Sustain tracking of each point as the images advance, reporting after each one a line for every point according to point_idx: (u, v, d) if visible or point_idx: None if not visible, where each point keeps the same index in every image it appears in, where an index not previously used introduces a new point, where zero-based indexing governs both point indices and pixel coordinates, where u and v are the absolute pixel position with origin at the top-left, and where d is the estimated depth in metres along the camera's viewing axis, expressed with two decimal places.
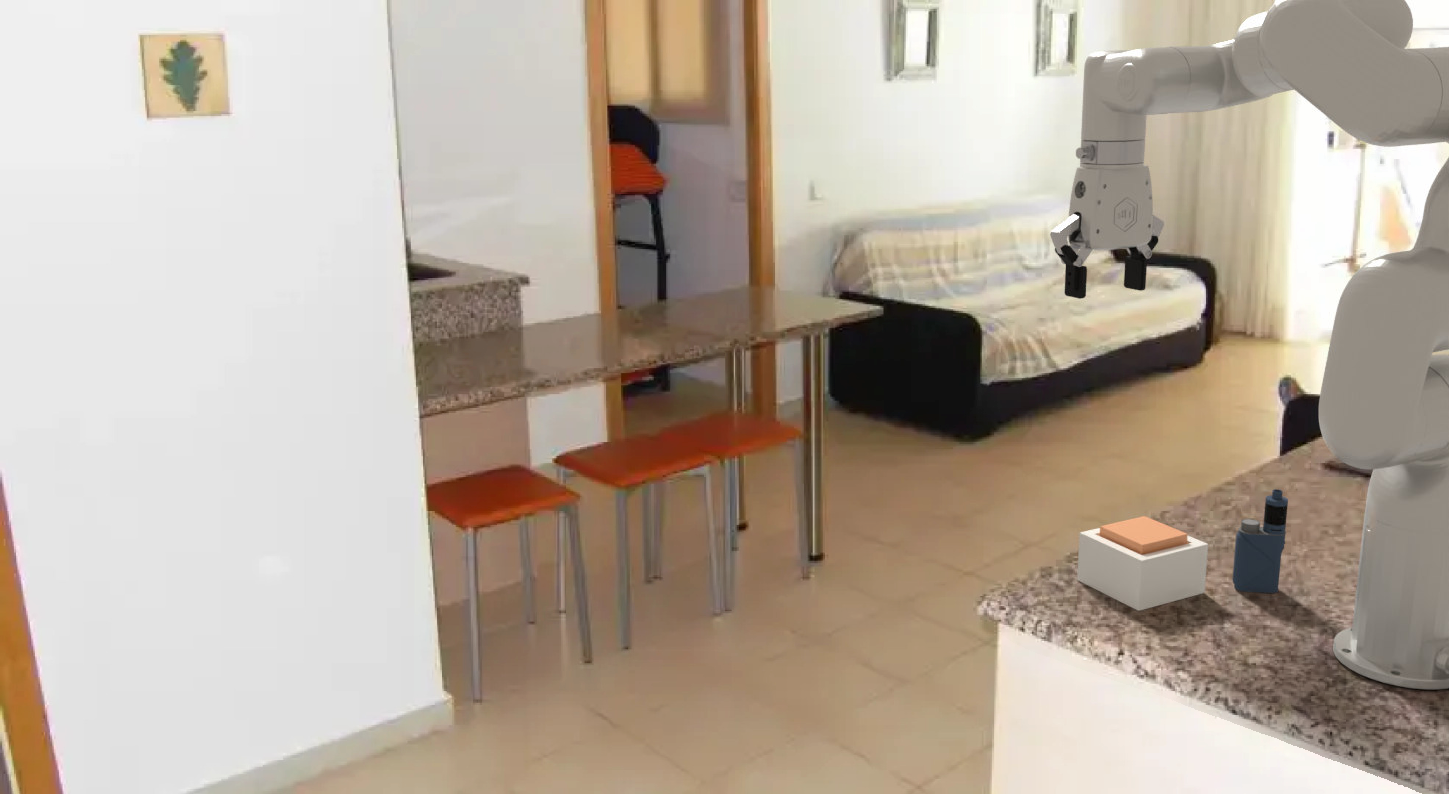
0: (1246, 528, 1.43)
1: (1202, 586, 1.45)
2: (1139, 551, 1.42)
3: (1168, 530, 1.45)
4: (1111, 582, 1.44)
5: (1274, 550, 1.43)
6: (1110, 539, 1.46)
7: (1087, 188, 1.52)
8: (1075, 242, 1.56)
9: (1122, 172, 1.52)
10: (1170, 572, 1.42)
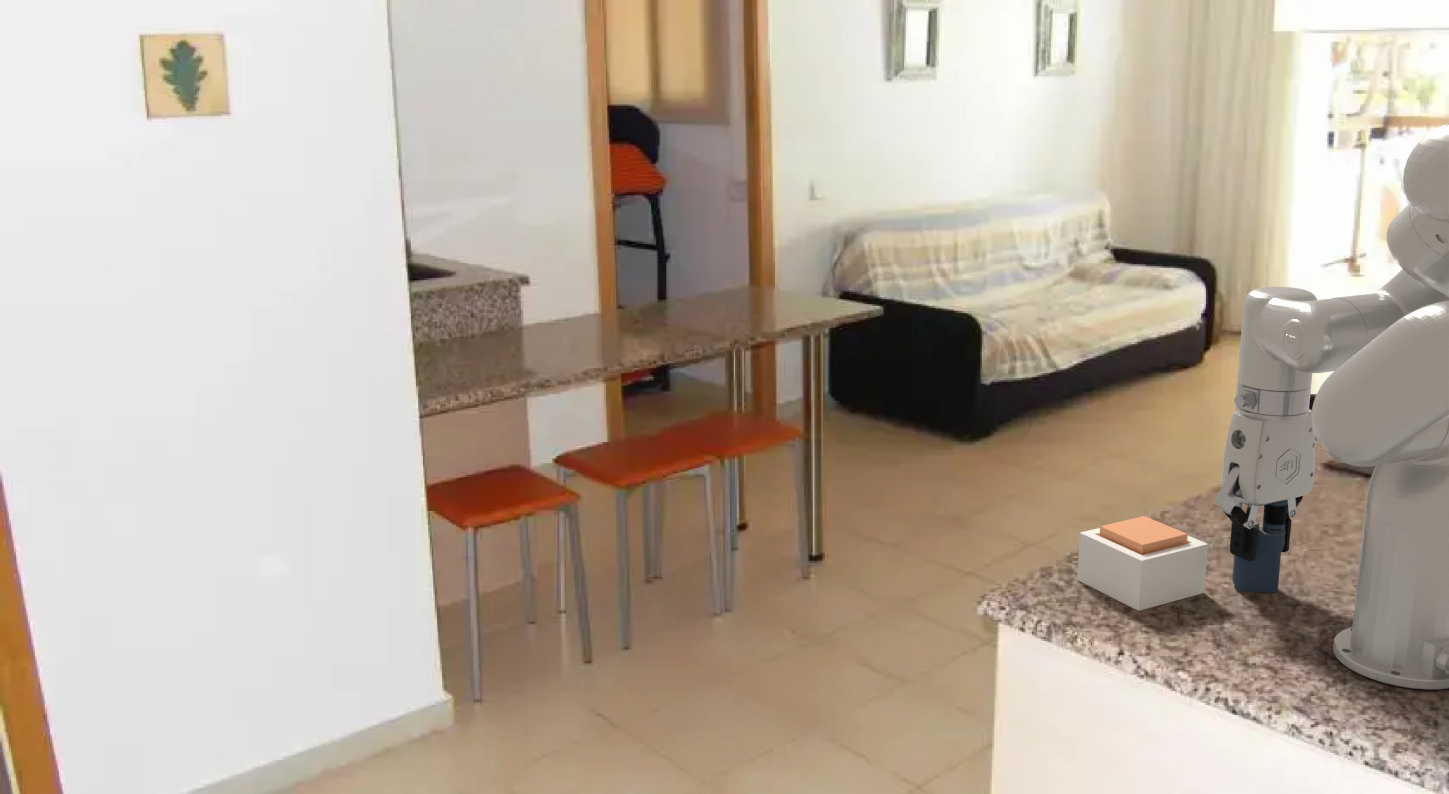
0: None
1: (1202, 586, 1.45)
2: (1139, 551, 1.42)
3: (1168, 530, 1.45)
4: (1111, 582, 1.44)
5: (1274, 550, 1.43)
6: (1110, 539, 1.46)
7: (1247, 440, 1.38)
8: (1237, 499, 1.42)
9: (1286, 422, 1.38)
10: (1170, 572, 1.42)
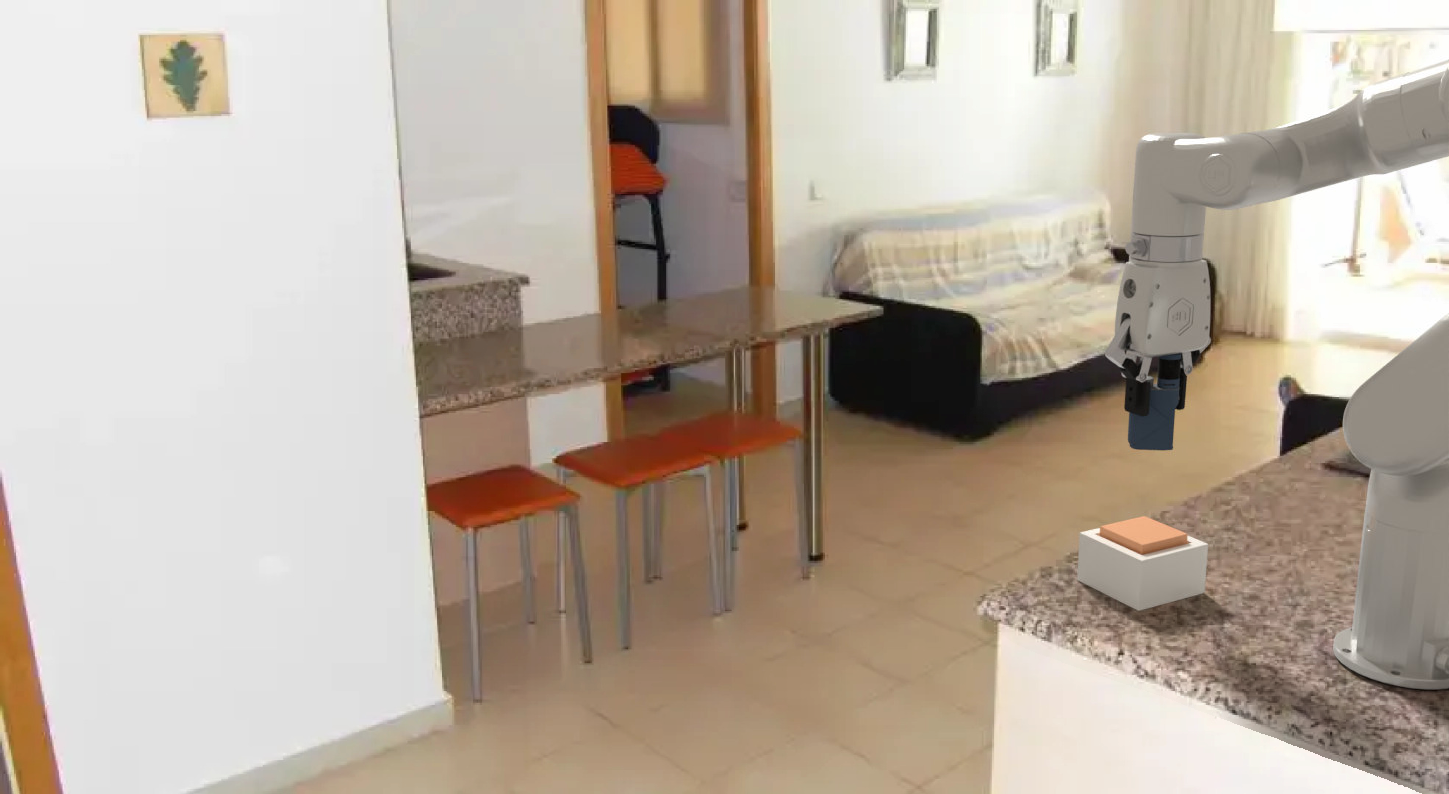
0: None
1: (1202, 586, 1.45)
2: (1139, 551, 1.42)
3: (1168, 530, 1.45)
4: (1111, 582, 1.44)
5: (1167, 405, 1.40)
6: (1110, 539, 1.46)
7: (1138, 288, 1.35)
8: (1130, 352, 1.39)
9: (1178, 269, 1.35)
10: (1170, 572, 1.42)
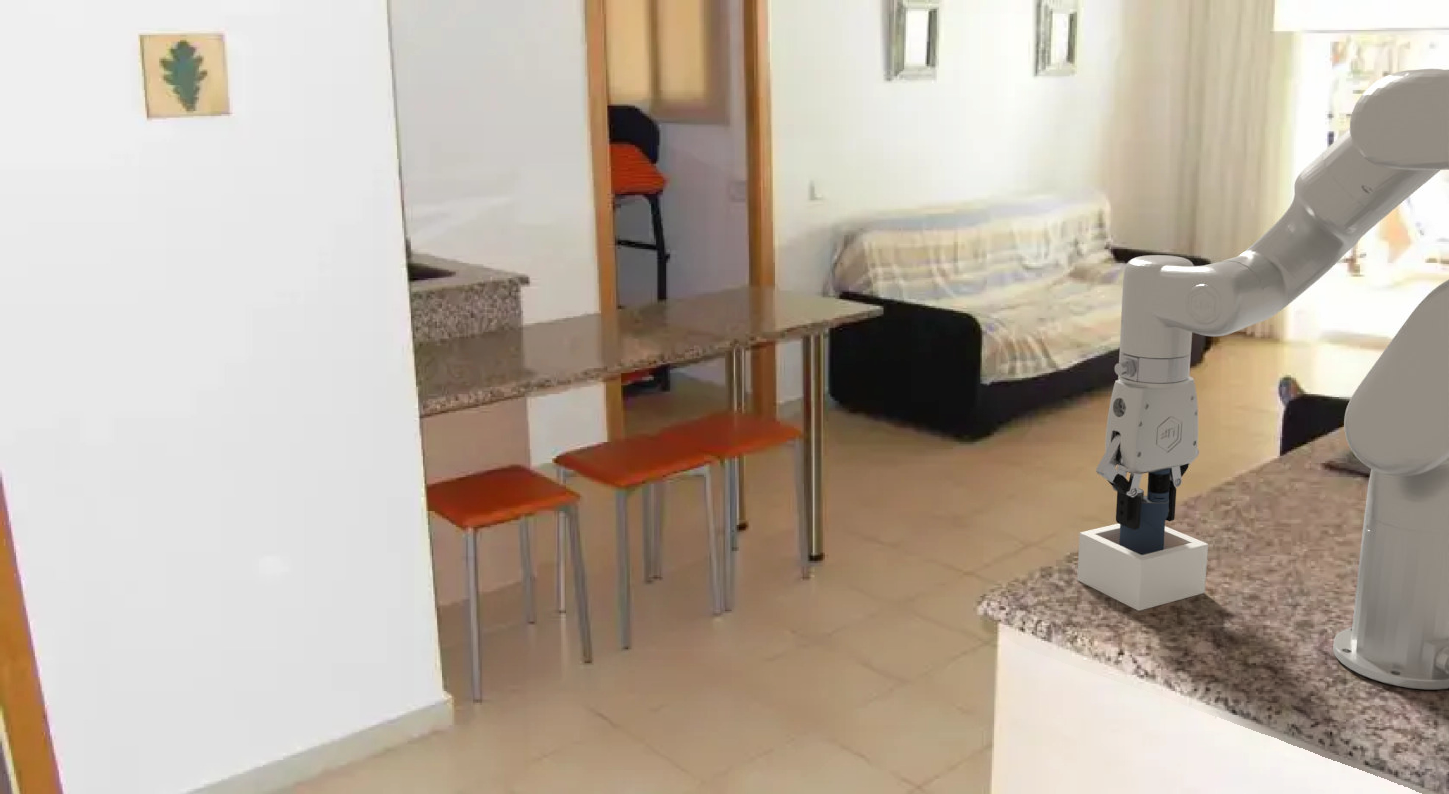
0: None
1: (1202, 586, 1.45)
2: None
3: None
4: (1111, 582, 1.44)
5: (1157, 518, 1.44)
6: None
7: (1127, 408, 1.38)
8: (1121, 467, 1.43)
9: (1166, 389, 1.38)
10: (1170, 572, 1.42)
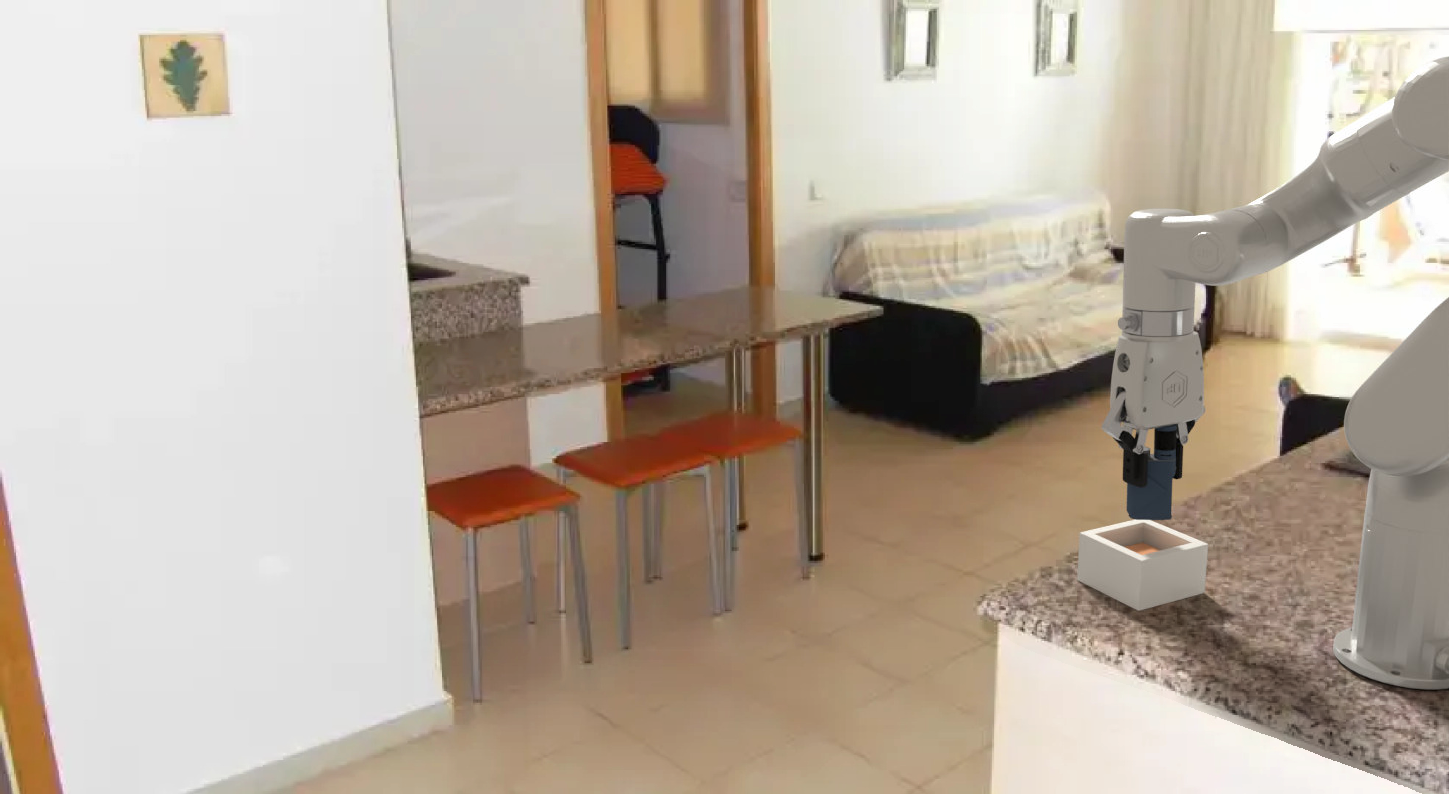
0: None
1: (1202, 586, 1.45)
2: None
3: None
4: (1111, 582, 1.44)
5: (1165, 476, 1.42)
6: None
7: (1131, 362, 1.37)
8: (1127, 425, 1.41)
9: (1170, 343, 1.37)
10: (1170, 572, 1.42)
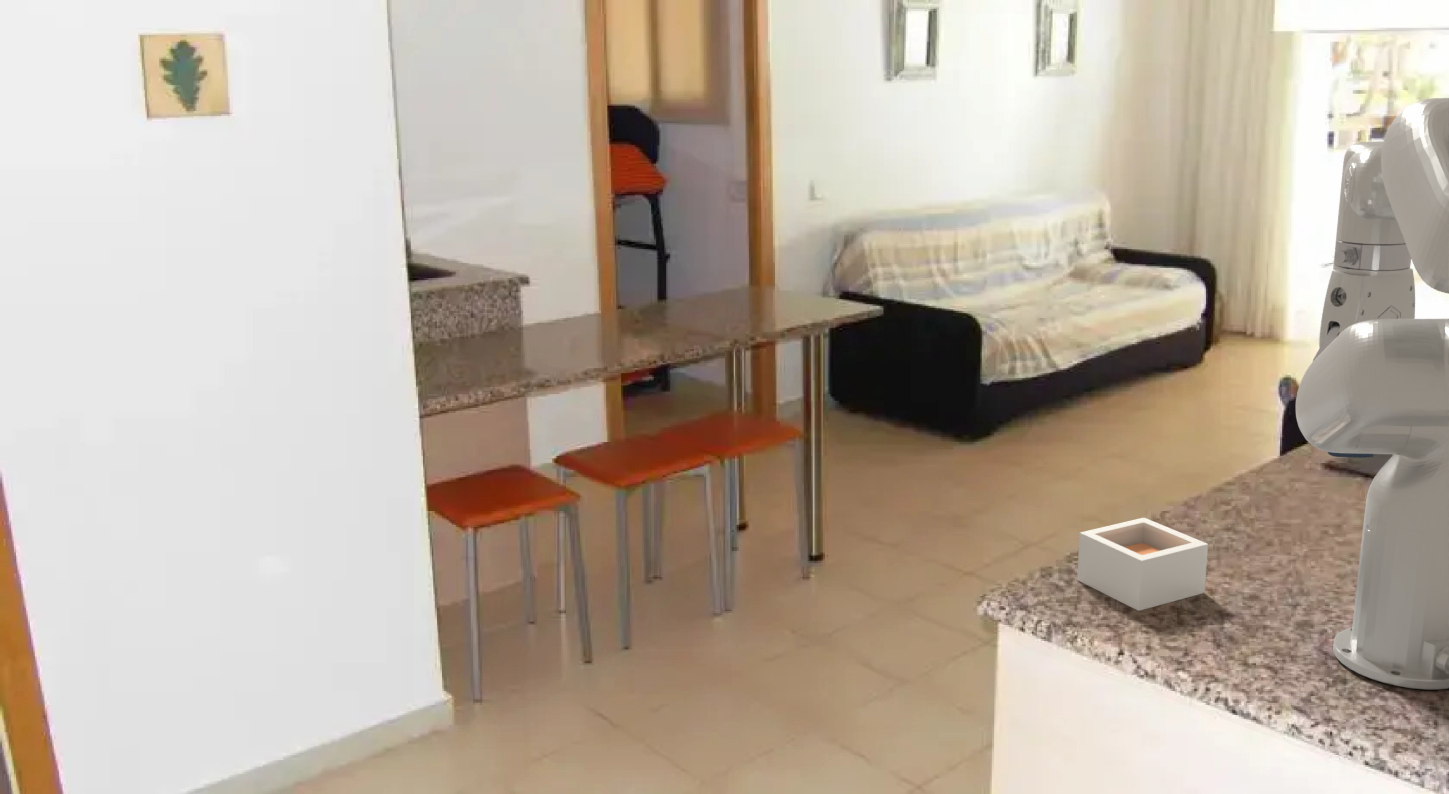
0: None
1: (1202, 586, 1.45)
2: None
3: None
4: (1111, 582, 1.44)
5: None
6: None
7: (1348, 296, 1.35)
8: None
9: (1388, 278, 1.35)
10: (1170, 572, 1.42)
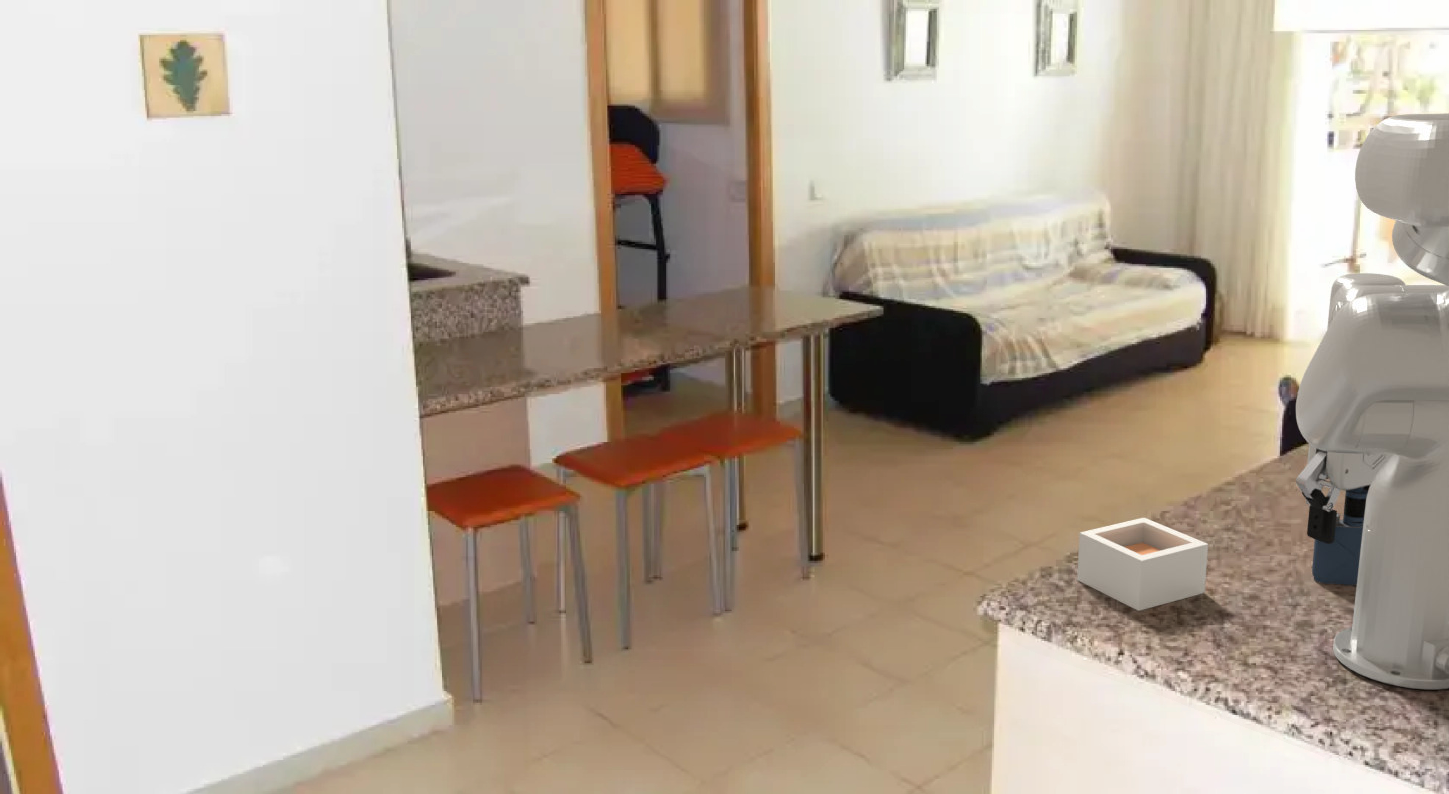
0: None
1: (1202, 586, 1.45)
2: None
3: None
4: (1111, 582, 1.44)
5: (1354, 542, 1.45)
6: None
7: None
8: (1319, 481, 1.43)
9: None
10: (1170, 572, 1.42)
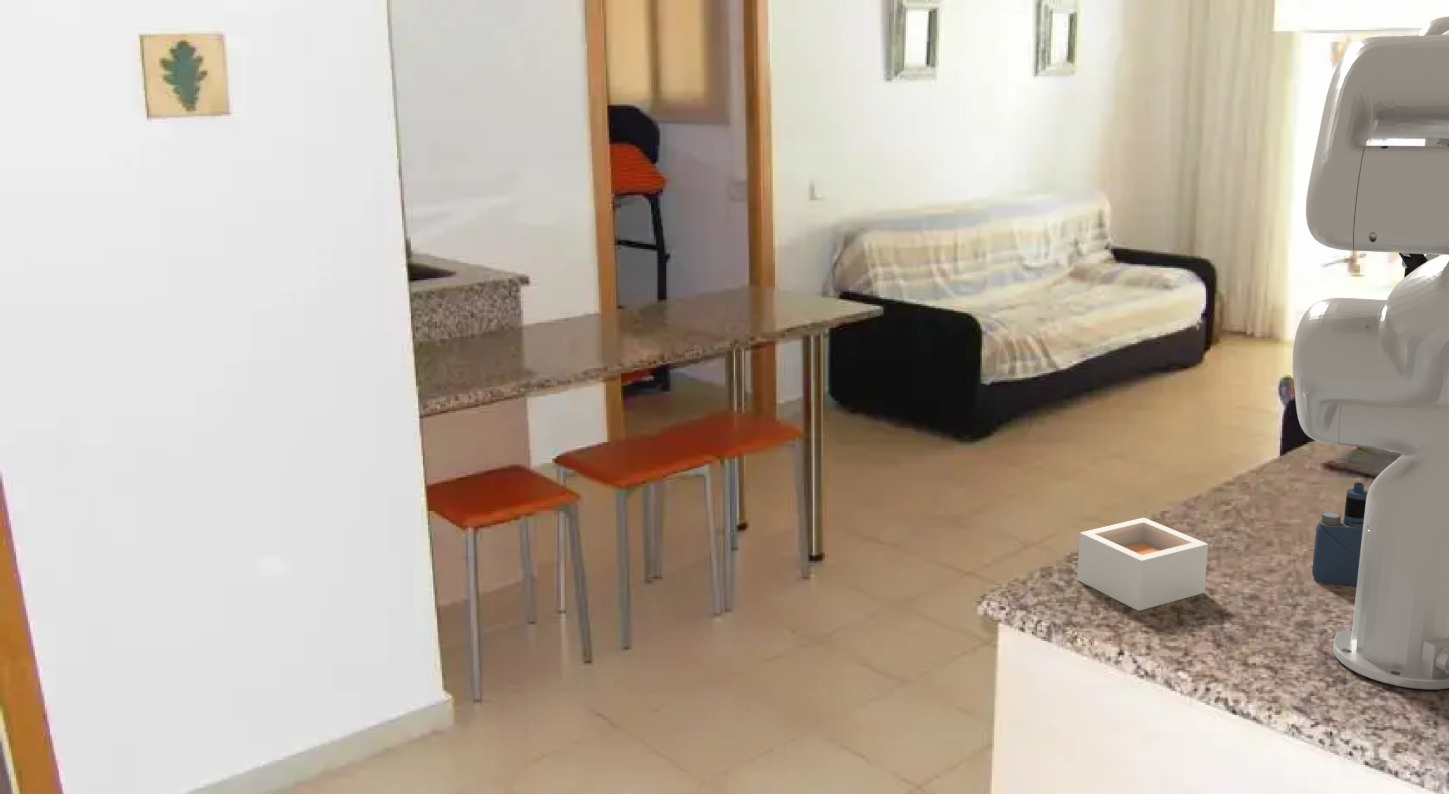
0: (1327, 521, 1.45)
1: (1202, 586, 1.45)
2: None
3: None
4: (1111, 582, 1.44)
5: (1355, 543, 1.44)
6: None
7: None
8: None
9: None
10: (1170, 572, 1.42)
